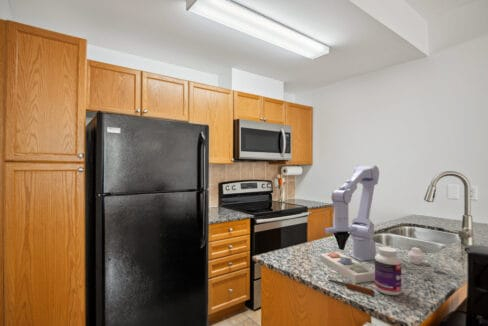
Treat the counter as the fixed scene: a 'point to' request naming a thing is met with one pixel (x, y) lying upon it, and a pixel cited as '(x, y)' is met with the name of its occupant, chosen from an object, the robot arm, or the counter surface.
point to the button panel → (348, 268)
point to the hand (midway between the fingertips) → (341, 249)
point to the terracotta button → (334, 255)
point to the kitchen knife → (354, 287)
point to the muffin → (416, 255)
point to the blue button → (345, 261)
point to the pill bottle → (388, 271)
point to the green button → (358, 269)
